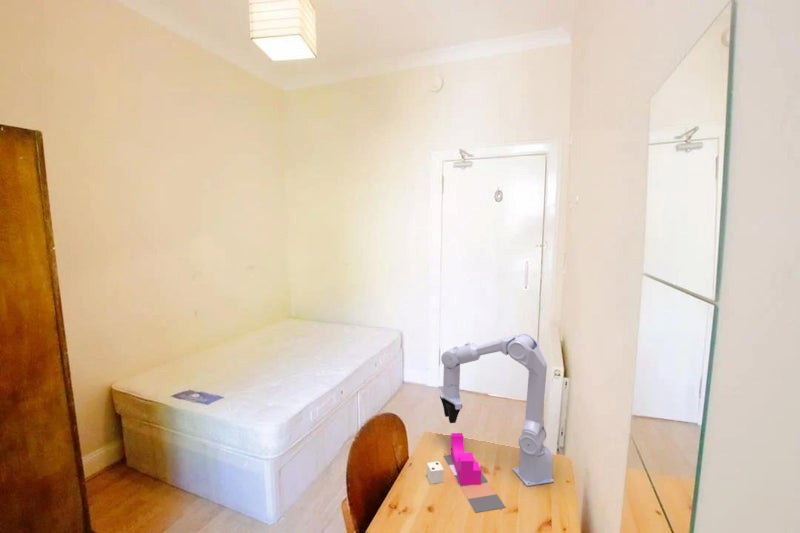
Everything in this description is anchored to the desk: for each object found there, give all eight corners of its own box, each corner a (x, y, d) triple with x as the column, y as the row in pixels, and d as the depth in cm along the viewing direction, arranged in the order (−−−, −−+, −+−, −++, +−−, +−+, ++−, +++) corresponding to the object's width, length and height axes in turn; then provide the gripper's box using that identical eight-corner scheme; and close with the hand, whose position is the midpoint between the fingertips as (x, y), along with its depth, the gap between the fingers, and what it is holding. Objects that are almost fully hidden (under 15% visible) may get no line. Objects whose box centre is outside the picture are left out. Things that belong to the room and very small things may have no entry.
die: (438, 473, 108) (439, 461, 108) (443, 482, 105) (443, 469, 104) (426, 475, 108) (427, 462, 107) (430, 483, 104) (431, 471, 103)
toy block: (480, 484, 104) (481, 460, 103) (460, 484, 103) (461, 461, 103) (468, 453, 119) (469, 433, 118) (450, 454, 118) (451, 433, 118)
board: (467, 454, 119) (467, 452, 119) (505, 509, 95) (505, 507, 95) (443, 457, 117) (443, 455, 117) (475, 514, 93) (475, 512, 93)
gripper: (434, 375, 128) (433, 410, 130) (448, 392, 114) (446, 431, 115) (451, 374, 130) (450, 408, 131) (467, 390, 116) (466, 429, 117)
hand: (450, 419), depth 123 cm, fingers open, 4 cm apart
